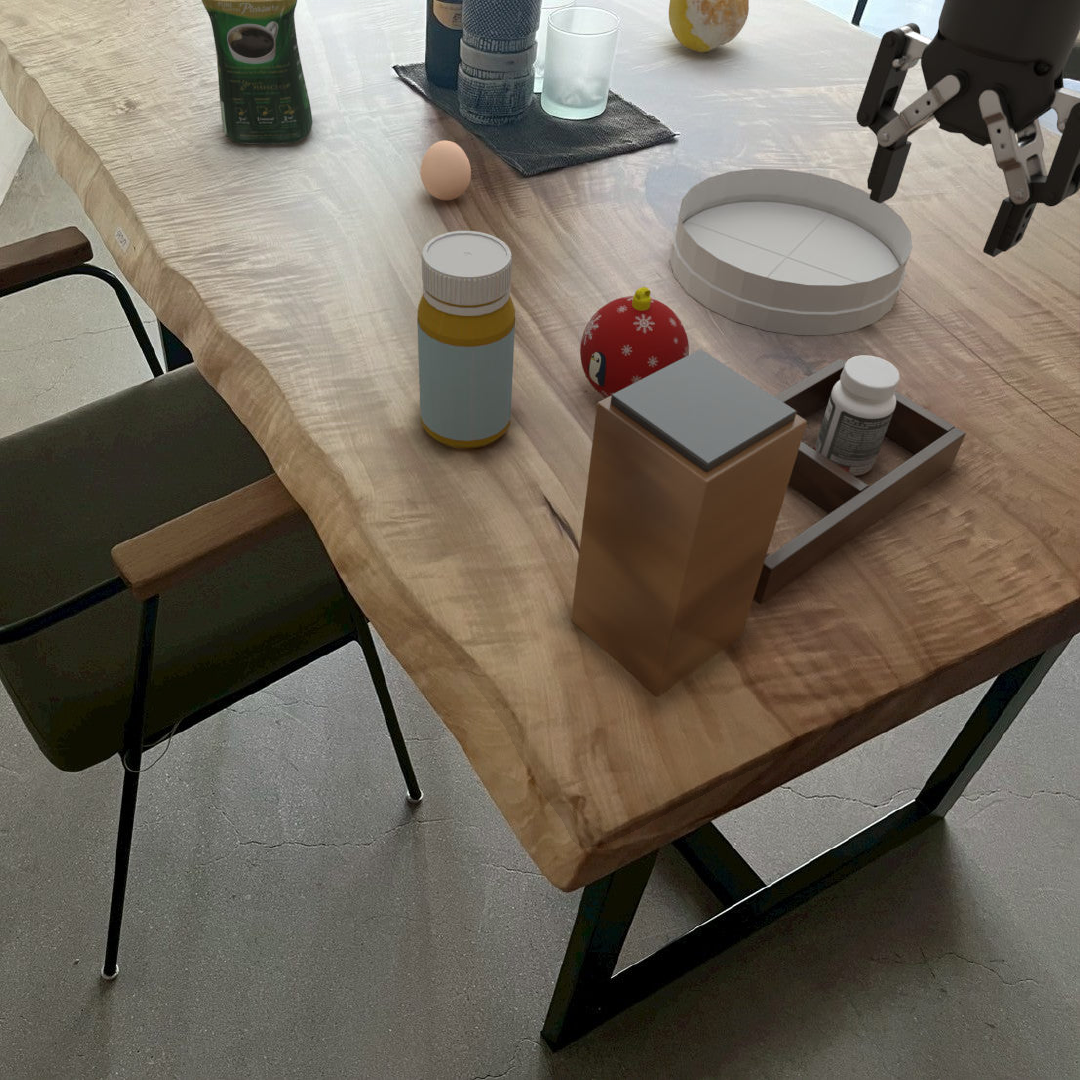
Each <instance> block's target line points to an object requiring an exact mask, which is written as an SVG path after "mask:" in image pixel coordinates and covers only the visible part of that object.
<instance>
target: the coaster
mask: <svg viewBox="0 0 1080 1080" xmlns="http://www.w3.org/2000/svg"><path fill="white" fill-rule="evenodd" d="M774 396H775V395H772V394H771V393H770V392H768V391H767V390H765V389H763V388H762V387H761V386H759V385H757V384H755V383H754V382H752V381H751V380H749V379H748V378H746V377H745V376H744V375H742V374H740V373H738V372H737V371H735V370H734V369H732V368H731V367H729V366H728V365H726V364H725V363H724V362H722V361H720V360H719V359H717V358H715V357H714V356H712V355H711V354H709V353H707V352H706V351H705V350H703V349H702V348H700V349H698V350H695V351H694V352H692V353H689V355H688V356H686V357H684V358H682V359H680V360H678V361H676V362H674V363H672V364H670V365H668V366H667V367H665V368H663V369H661V370H659V371H657V372H655V373H653V374H651V375H649V376H647V377H645V378H643V379H641V380H639V381H637V382H635V383H633V384H631V385H629V386H628V387H626V388H624V389H622V390H620V391H618V392H616V393H614V394H612V395H611V404H612V405H614V406H615V407H617V408H618V409H619V410H621V411H622V412H623V413H625V414H626V415H628V416H629V417H630V418H632V419H633V420H635V421H636V422H637V423H639V424H640V425H641V426H643V427H644V428H646V429H647V430H648V431H650V432H651V433H653V434H654V435H655V436H657V437H658V438H659V439H661V440H662V441H664V442H665V443H666V444H668V445H669V446H671V447H672V448H673V449H675V450H676V451H677V452H679V453H680V454H682V455H683V456H684V457H686V458H687V459H689V460H690V461H691V462H693V463H694V464H695V465H697V466H698V467H700V468H701V469H702V470H704V471H705V472H708V471H709V470H711V469H713V468H714V467H716V466H718V465H719V464H721V463H723V462H724V461H726V460H728V459H729V458H731V457H733V456H734V455H736V454H738V453H739V452H741V451H743V450H744V449H746V448H748V447H749V446H751V445H753V444H754V443H756V442H758V441H759V440H761V439H763V438H764V437H766V436H768V435H769V434H771V433H773V432H774V431H776V430H778V429H779V428H781V427H783V426H784V425H786V424H788V423H789V422H791V421H793V420H794V419H795V416H796V413H797V411H796V410H794V409H793V408H791V407H790V406H788V405H787V404H785V403H784V402H782V401H780V400H779V399H777V398H776V397H774Z"/></svg>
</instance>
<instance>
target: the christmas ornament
mask: <svg viewBox="0 0 1080 1080" xmlns="http://www.w3.org/2000/svg"><path fill="white" fill-rule="evenodd" d="M580 340H581V341H580V346H579V347H580V348H579V356H580V363H581V367H582V370H583V373H584V375H585V377H586V379H587V381H588V382H589V384H590V386H591V387H592V388H593V389H594V390H595V391H596V392H597V393H598V394H600V395H601V396H602V397H603V398H604V399H605V398H607V397H609V396H611V395H612V394H614V393H616V392H618V391H620V390H622V389H624V388H626V387H628V386H629V385H631V384H633V383H635V382H637V381H639V380H641V379H643V378H645V377H647V376H649V375H651V374H653V373H655V372H657V371H659V370H661V369H663V368H665V367H667V366H668V365H670V364H672V363H674V362H676V361H678V360H680V359H682V358H684V357H686V356H688V355H690V345H689V339H688V334H687V332H686V329H685V326H684V324H683V323H682V321H681V319H680V317H678V315H677V314H676V313H675V311H673V310H672V309H671V307H669V306H668V305H666V304H664V303H663V302H661V301H659V300H657V299H655V298H652V297H651V290H650V289H649V288H648V287H646V286H643V287H640V288H638V289H636V291H635V292H634V295H628V296H622V297H619V298H616V299H613V300H611V301H609V302H608V303H606V304H604V305H603V306H602V307H601V308H599V309H598V310H597V311H596V312H595V313H594V314H593V315H592V317H591V318H590V320H589V321H588V322H587V324H586V326H585V328H584V330H583V333H582V336H581V339H580Z"/></svg>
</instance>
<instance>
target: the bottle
mask: <svg viewBox="0 0 1080 1080" xmlns="http://www.w3.org/2000/svg"><path fill="white" fill-rule="evenodd" d="M511 251H512V250H511V249H510V247H509V246H508V244H507V243H505V242H504V241H503V240H502V239H500V238H498V237H497V236H494V235H492V234H489V233H485V232H482V231H476V230H454V231H448V232H444V233H442V234H439V235H436V236H434V237H432V238H430V240H428V241H427V242H426V243H425V245H424V246H423V248H422V253H421V279H422V291H423V293H422V295H421V297H420V301H419V303H418V307H417V318H416V320H417V321H416V323H417V325H416V326H417V354H418V382H419V383H418V384H419V385H418V386H419V387H418V388H419V414H420V422H421V425H422V427H423V429H424V430H425V432H426V433H427V434H428V435H429V436H430V437H432V438H433V439H434V440H435V441H437V442H439V443H441V444H443V445H444V446H447V447H451V448H454V449H459V450H460V449H463V450H473V449H478V448H483V447H485V446H488V445H490V444H492V443H494V442H496V441H497V440H498V439H499V438H501V437H502V436H503V435H504V434H505V433H506V432H507V431H508V429H509V427H510V424H511V417H512V396H513V395H512V394H513V376H514V375H513V374H514V373H513V372H514V355H515V354H514V353H515V333H516V332H515V330H516V309H515V305H514V303H513V300H512V297H511V289H512V288H511V284H512V269H513V268H512V267H513V265H512V264H513V255H512V252H511Z"/></svg>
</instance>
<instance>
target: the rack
mask: <svg viewBox="0 0 1080 1080" xmlns="http://www.w3.org/2000/svg"><path fill="white" fill-rule="evenodd" d="M846 362H847V360H845V359H842V358H841V357H840V358H838V359H836V360H835V361H833V362H831V363H829V364H827V365H825V366H824V367H822V368H820V369H819V370H816V371H815V372H813V373H812V374H810V375H809V376H807V377H805V378H803V379H801V380H800V381H798V382H796V383H794V384H792V385H791V386H789V387H787V388H785V389H784V390H782V391H781V392H779V393H777V394H776V395H773V396H774V397H776V398H777V399H779V400H780V401H782V402H784V403H785V404H787V405H788V406H790V407H791V408H793V409H794V410H796V411H797V413H796V414H797V415H799V416H800V417H802V418H803V419H806V418H808V417H809V416H811V415H813V414H814V413H816V412H818V411H819V410H821V409H823V408H825V407H827V405H828V402H829V399H830V395H831V392H832V389H833V387H834V385H835V384H836V383H837V382H838V381H839V380H840V377H841V374H842V371H843V369H844V366H845V363H846ZM895 397H896V406H895V409H894V412H893V415H892V417H891V420H890V423H889V425H888V428H887V431H886V434H885V436H884V437H887V438H888V439H890V440H892V441H893V442H895V443H896V444H897V445H900V446H901V447H902V448H905V449H906V450H908V451H909V452H911V453H913V454H914V455H912V456H911V457H910V458H908V459H907V460H905V461H904V462H902V463H901V464H899V465H898V466H897V467H894V469H891V471H889V472H888V473H887V474H885V475H884V476H882V477H880V478H879V479H878V480H875V482H873V483H872V484H871V485H868V484H867V483H865V482H864V481H863V480H861V479H859V478H858V477H857V476H853V475H852V474H850V473H849V472H847V471H846V470H844V469H843V468H841V467H840V466H838V465H837V464H835V463H834V462H832V461H831V460H829V459H828V458H826V457H825V456H823V455H822V454H820V453H818V452H817V451H815V450H814V448H813V447H811V446H810V445H808V444H807V443H806V442H803V441H801V444H800V447H799V450H798V454H797V457H796V460H795V463H794V467H793V470H792V473H791V476H790V480H789V483H788V486H790V487H791V488H792V489H794V490H795V491H797V492H798V493H800V494H801V495H803V496H804V498H807V499H808V500H810V501H811V502H813V503H814V504H816V505H817V506H819V507H820V508H821V509H823V510H824V511H826V512H827V513H828V514H827V515H825V516H824V517H823V518H821V519H820V520H818V521H816V522H815V523H813V524H812V525H811V526H809V527H808V528H807V529H805V530H804V531H802V532H800V533H799V534H797V535H796V536H795V537H793V538H792V539H791V540H789V541H788V542H786V543H784V544H783V545H782V546H780V547H779V548H778V549H776V550H774V551H773V552H772V553H770V554H769V552H767V555H766V558H765V561H764V565H763V568H762V571H761V574H760V578H759V581H758V584H757V588H756V591H755V594H754V597H753V601H756V602H757V603H758V604H759V605H762V604H763V603H765V602H766V601H767V600H769V599H770V598H771V597H773V596H774V595H776V594H777V593H778V592H780V591H782V589H784V588H785V587H787V586H788V585H789V584H791V583H792V582H793V581H795V580H796V579H798V578H799V577H801V576H802V575H804V574H805V573H806V572H808V571H809V570H810V569H812V568H814V567H815V566H816V565H817V564H819V563H821V562H822V561H823V560H825V559H826V558H827V557H828V556H830V555H831V554H832V553H834V552H835V551H837V550H839V549H840V548H841V547H843V546H844V545H845V544H846V543H848V542H849V541H851V540H852V539H853V538H855V537H856V536H858V535H859V534H860V533H862V532H863V531H864V530H866V529H867V528H869V527H871V526H872V525H873V524H875V522H878V520H880V519H881V518H882V517H884V516H886V515H887V514H888V513H889V512H891V511H893V510H894V509H895V508H897V507H898V506H899V505H900V504H902V503H904V502H905V501H906V500H908V499H909V498H910V497H912V496H914V494H916V493H917V492H919V491H920V490H921V489H923V488H924V487H926V486H927V485H929V484H930V483H931V482H932V481H934V480H935V479H937V478H938V477H940V476H941V475H942V474H944V473H945V472H947V471H948V470H949V469H951V468H952V466H953V464H954V462H955V460H956V458H957V455H958V453H959V451H960V449H961V446H962V445H963V442H964V439H965V437H966V435H967V432H965V431H963V430H961V429H960V428H958V427H957V426H955V425H953V424H952V423H951V422H949V421H947V420H945V419H943V418H942V417H940V416H939V415H937V414H935V413H933V412H932V411H930V410H928V409H926V408H925V407H924V406H922V405H920V404H918V403H916V402H915V401H913V400H911V399H910V398H908V397H907V396H905V395H903V394H901V392H898V391H897V390H895Z"/></svg>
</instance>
